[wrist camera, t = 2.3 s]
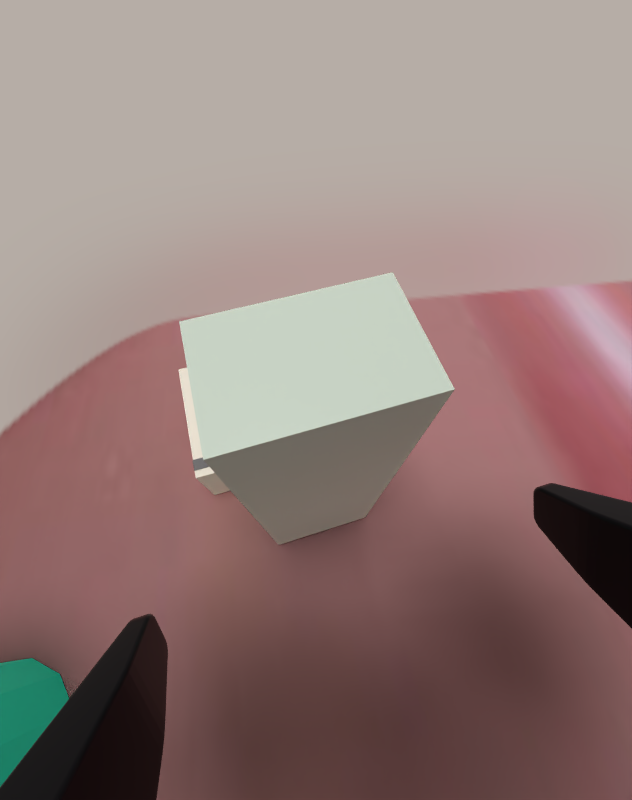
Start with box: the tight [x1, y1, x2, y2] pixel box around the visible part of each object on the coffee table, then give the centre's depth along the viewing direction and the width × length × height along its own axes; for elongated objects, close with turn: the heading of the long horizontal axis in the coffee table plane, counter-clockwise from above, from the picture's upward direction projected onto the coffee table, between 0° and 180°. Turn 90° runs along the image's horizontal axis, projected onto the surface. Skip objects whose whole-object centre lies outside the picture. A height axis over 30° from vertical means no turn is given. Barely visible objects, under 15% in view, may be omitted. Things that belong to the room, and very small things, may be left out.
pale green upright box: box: [179, 273, 455, 545], centre depth 13 cm, size 3×5×14 cm
